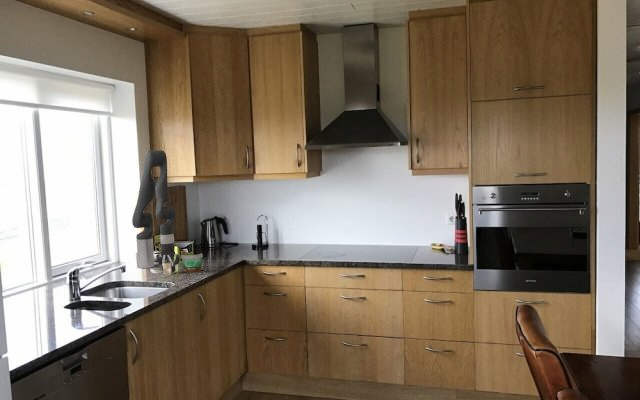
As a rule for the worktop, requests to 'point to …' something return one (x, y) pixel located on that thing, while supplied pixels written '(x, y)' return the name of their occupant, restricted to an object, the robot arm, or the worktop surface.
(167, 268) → the birch block
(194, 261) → the food container
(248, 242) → the worktop surface
